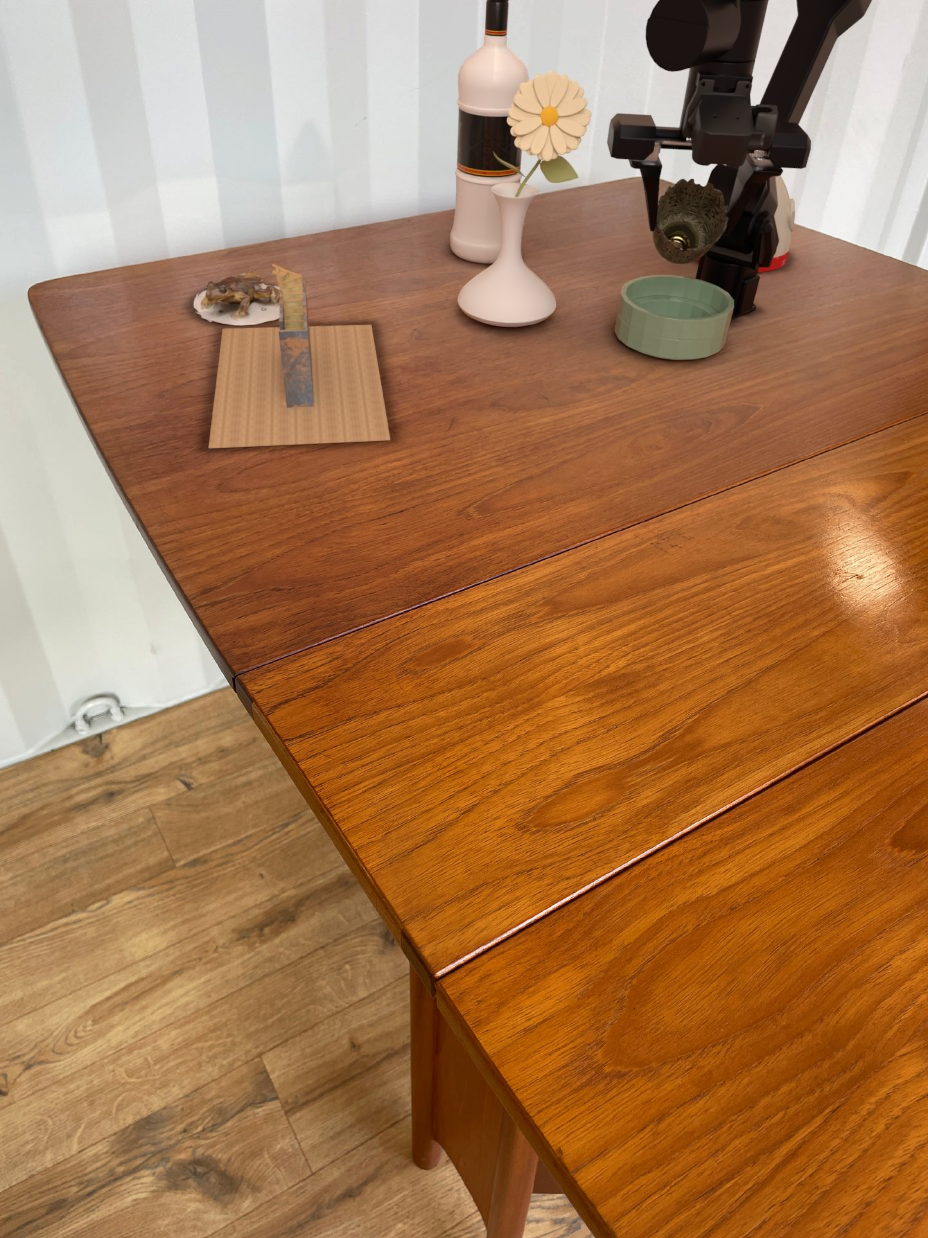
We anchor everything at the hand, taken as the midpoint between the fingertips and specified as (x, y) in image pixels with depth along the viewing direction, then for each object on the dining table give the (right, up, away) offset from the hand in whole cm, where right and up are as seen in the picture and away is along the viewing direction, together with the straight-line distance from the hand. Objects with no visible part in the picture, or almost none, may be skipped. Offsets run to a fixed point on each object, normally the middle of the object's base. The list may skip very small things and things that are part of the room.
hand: (688, 232), depth 92 cm
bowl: (0, -9, +8) cm, 12 cm away
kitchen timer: (+14, +10, +30) cm, 34 cm away
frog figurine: (-49, -4, +11) cm, 50 cm away
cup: (0, +1, +7) cm, 7 cm away
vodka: (-21, +8, +26) cm, 34 cm away
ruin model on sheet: (-40, -16, -2) cm, 43 cm away
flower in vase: (-18, -5, +11) cm, 22 cm away
